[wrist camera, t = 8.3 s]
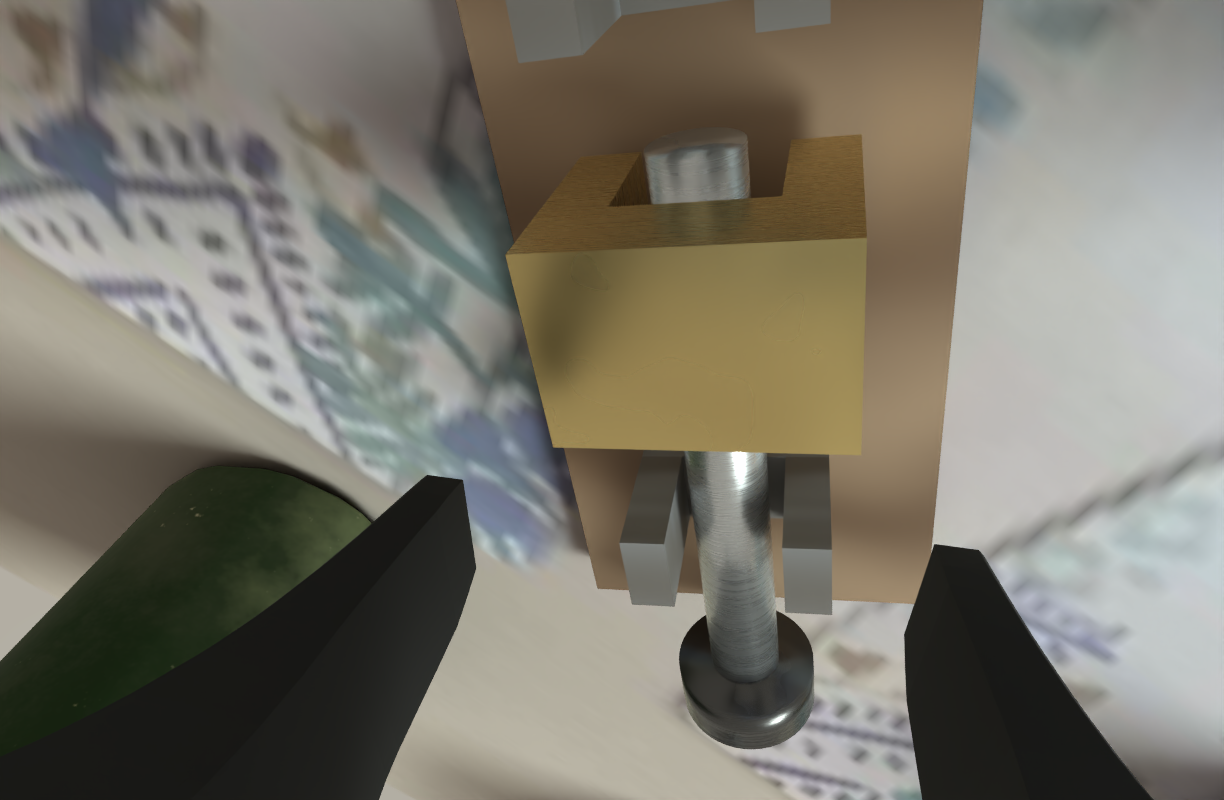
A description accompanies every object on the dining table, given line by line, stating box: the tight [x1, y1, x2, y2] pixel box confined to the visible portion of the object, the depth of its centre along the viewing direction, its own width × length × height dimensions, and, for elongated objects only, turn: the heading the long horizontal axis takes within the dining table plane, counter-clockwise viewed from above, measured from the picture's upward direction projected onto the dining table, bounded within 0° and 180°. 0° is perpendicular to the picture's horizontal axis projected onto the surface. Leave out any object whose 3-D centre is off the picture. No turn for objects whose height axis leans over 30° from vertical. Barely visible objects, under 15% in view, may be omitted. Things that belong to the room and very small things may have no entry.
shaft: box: [644, 127, 814, 749], centre depth 18 cm, size 16×4×4 cm, turn 9°
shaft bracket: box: [456, 0, 983, 615], centre depth 16 cm, size 24×10×6 cm, turn 9°
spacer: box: [505, 134, 867, 455], centre depth 15 cm, size 4×6×5 cm
